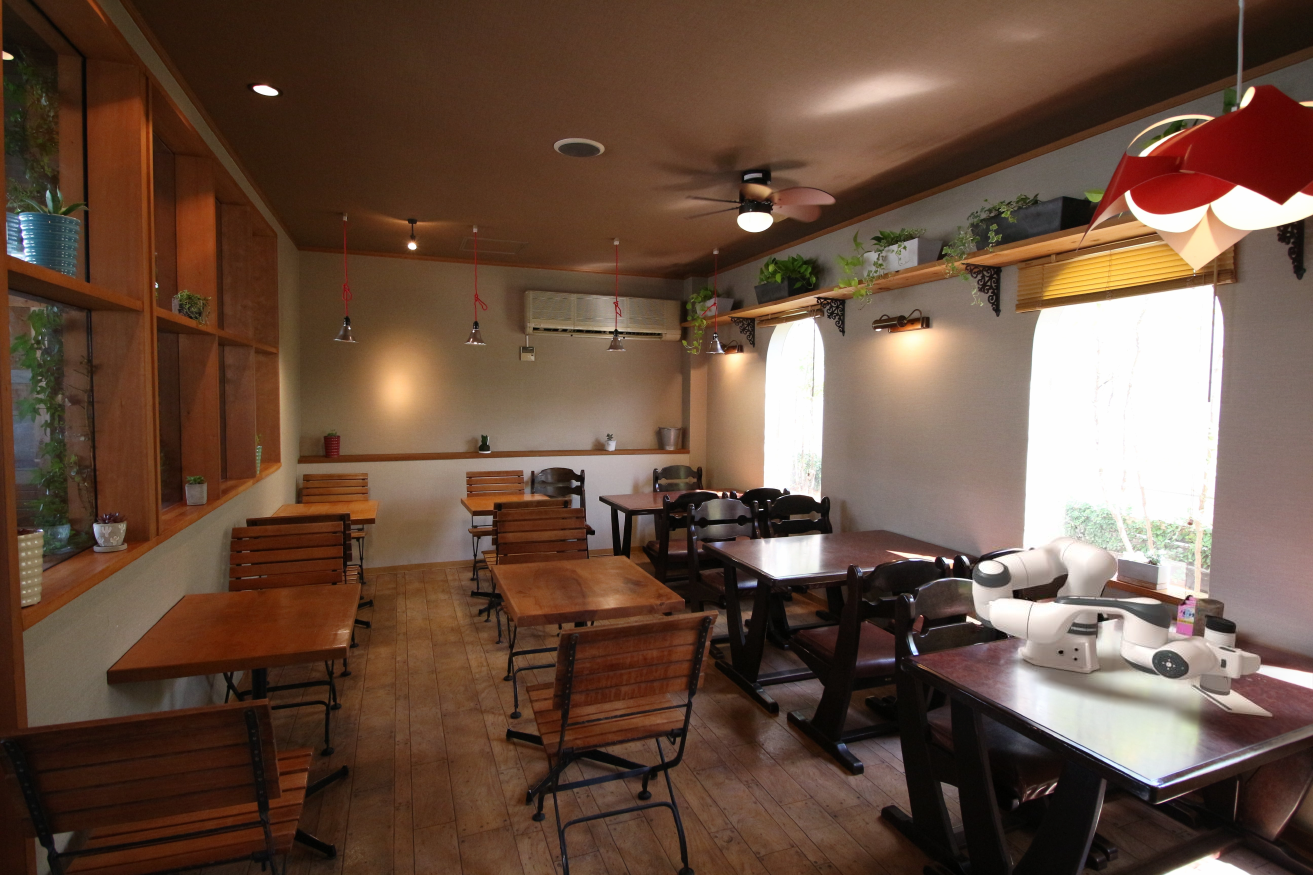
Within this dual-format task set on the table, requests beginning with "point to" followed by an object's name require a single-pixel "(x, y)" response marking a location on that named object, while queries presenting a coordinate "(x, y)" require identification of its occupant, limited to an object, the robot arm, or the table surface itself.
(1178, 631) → the gum box
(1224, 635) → the travel mug
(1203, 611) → the candle
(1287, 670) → the table surface
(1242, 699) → the mat
